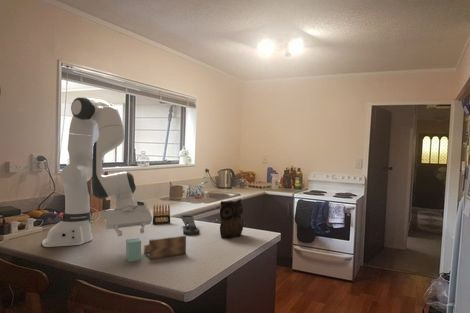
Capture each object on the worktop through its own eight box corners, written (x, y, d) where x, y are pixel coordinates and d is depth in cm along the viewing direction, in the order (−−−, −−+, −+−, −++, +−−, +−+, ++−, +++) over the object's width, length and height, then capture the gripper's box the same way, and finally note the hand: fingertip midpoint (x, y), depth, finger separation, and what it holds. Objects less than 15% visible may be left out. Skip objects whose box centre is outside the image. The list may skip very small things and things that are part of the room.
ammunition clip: (152, 224, 209) (152, 204, 209) (152, 223, 211) (152, 204, 211) (170, 223, 213) (170, 204, 212) (169, 222, 214) (170, 203, 214)
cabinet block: (128, 261, 141) (128, 242, 141) (125, 257, 146) (125, 239, 146) (140, 260, 143) (141, 241, 143) (137, 256, 148) (137, 237, 148)
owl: (244, 234, 188) (244, 198, 187) (238, 240, 176) (239, 201, 175) (222, 232, 191) (222, 197, 191) (215, 238, 179) (215, 200, 178)
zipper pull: (193, 214, 209) (200, 223, 185) (193, 225, 210) (200, 235, 185) (179, 214, 207) (184, 223, 183) (178, 225, 207) (184, 236, 183)
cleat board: (150, 259, 144) (150, 240, 144) (144, 253, 152) (144, 235, 152) (185, 254, 152) (186, 236, 152) (178, 248, 160) (178, 231, 160)
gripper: (103, 206, 150) (107, 233, 142) (149, 202, 161) (155, 227, 152) (101, 214, 154) (105, 241, 146) (146, 210, 165) (152, 234, 156)
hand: (131, 233), depth 149 cm, fingers open, 8 cm apart
